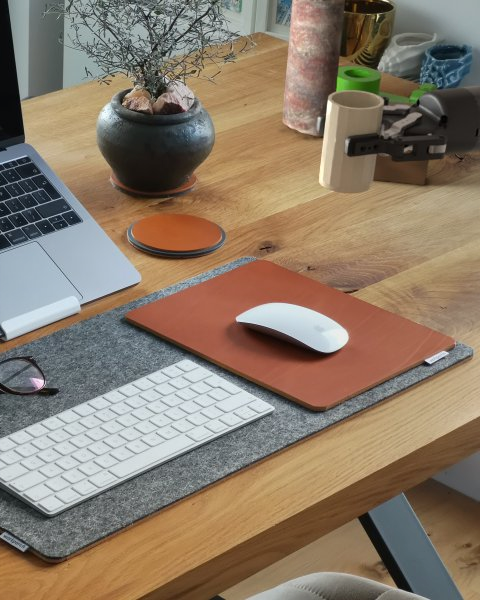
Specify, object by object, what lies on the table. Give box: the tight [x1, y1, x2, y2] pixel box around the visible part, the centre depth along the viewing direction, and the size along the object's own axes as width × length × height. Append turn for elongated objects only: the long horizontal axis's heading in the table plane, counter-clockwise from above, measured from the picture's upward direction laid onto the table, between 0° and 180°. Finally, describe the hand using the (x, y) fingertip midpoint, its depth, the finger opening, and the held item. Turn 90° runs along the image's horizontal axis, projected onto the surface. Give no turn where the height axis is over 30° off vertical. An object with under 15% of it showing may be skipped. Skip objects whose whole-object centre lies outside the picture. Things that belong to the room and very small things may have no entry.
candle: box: [282, 0, 346, 138], centre depth 158 cm, size 8×7×20 cm
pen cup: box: [318, 90, 384, 194], centre depth 125 cm, size 6×6×10 cm
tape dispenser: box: [336, 65, 438, 104], centre depth 169 cm, size 15×7×5 cm, turn 54°
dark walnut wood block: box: [373, 101, 430, 186], centre depth 152 cm, size 11×14×6 cm
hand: (332, 135), depth 124 cm, fingers closed on pen cup, 6 cm apart
